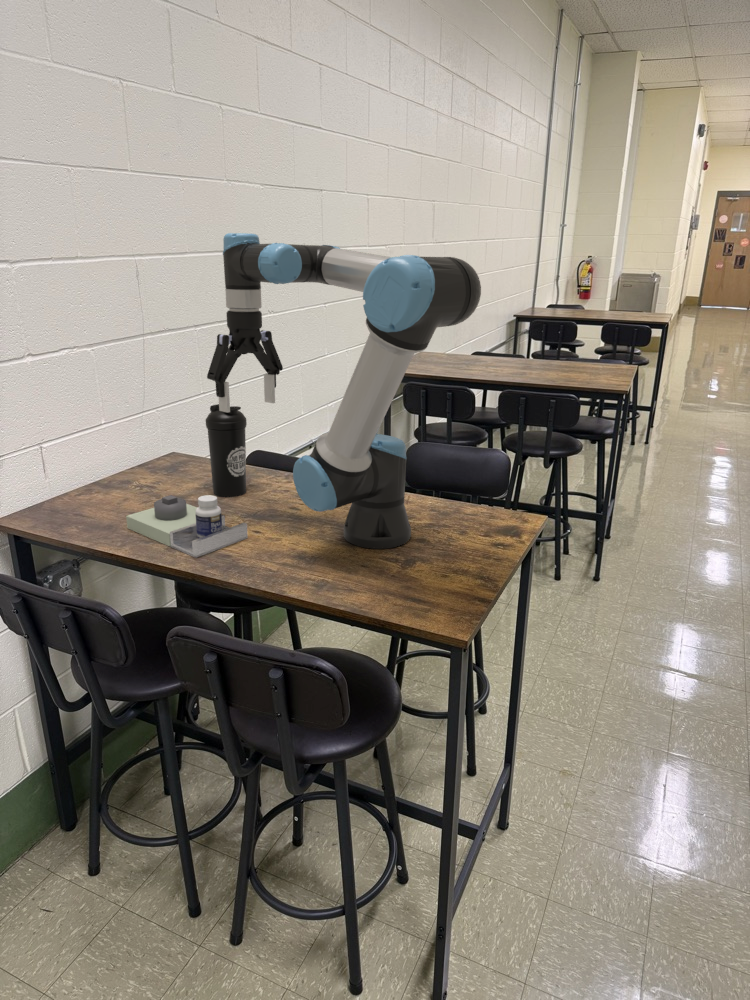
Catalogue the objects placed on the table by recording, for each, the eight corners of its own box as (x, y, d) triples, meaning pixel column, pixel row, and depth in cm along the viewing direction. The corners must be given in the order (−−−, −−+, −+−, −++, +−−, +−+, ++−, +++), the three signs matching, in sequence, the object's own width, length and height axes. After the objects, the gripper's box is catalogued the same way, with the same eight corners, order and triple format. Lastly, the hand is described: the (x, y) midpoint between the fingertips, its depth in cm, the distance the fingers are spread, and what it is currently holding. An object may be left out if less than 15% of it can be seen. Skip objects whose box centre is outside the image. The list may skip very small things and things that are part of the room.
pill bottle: (215, 546, 146) (212, 503, 143) (192, 543, 147) (189, 500, 144) (227, 537, 151) (225, 495, 148) (205, 534, 152) (202, 492, 149)
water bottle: (228, 501, 174) (223, 412, 167) (201, 492, 180) (196, 406, 173) (257, 491, 182) (254, 405, 174) (231, 483, 188) (227, 400, 180)
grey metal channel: (247, 538, 152) (247, 523, 151) (196, 557, 142) (195, 542, 140) (222, 528, 157) (221, 514, 156) (170, 547, 147) (169, 531, 145)
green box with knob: (221, 528, 157) (220, 498, 155) (170, 546, 147) (167, 515, 144) (178, 512, 166) (176, 483, 164) (127, 528, 156) (124, 498, 154)
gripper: (273, 306, 160) (276, 396, 167) (185, 311, 141) (192, 412, 148) (296, 308, 156) (298, 401, 163) (209, 313, 137) (215, 418, 144)
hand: (248, 406), depth 156 cm, fingers open, 13 cm apart
